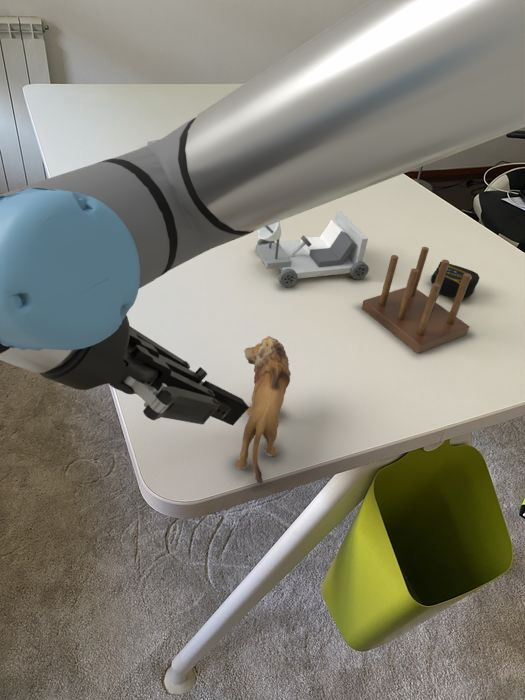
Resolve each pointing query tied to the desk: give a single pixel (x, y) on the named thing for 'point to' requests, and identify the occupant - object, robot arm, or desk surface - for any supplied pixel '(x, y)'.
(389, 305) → the walnut rack
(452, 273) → the tape measure
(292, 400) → the desk surface
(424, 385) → the desk surface
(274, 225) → the toy car
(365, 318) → the desk surface
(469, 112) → the robot arm
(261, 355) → the lion figurine
